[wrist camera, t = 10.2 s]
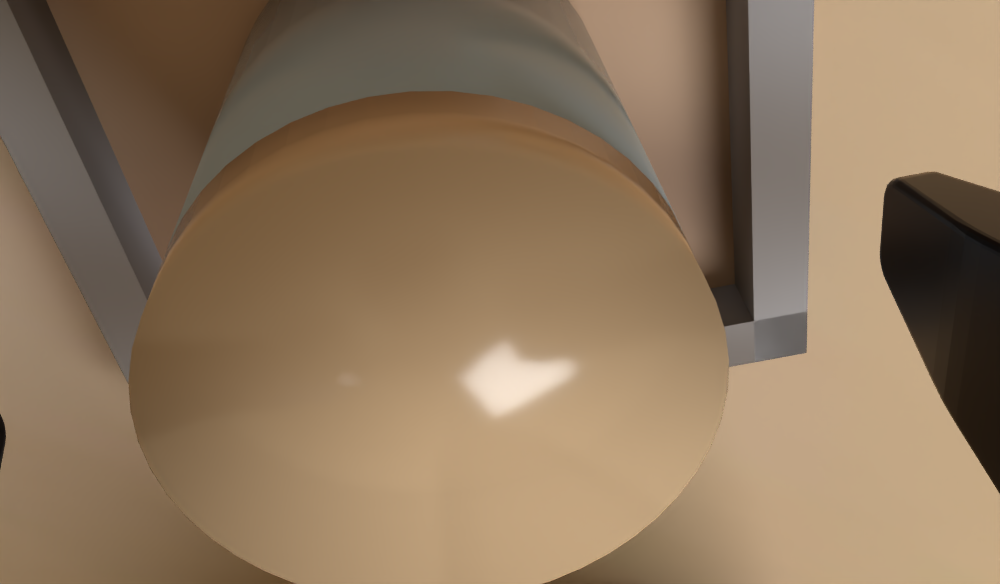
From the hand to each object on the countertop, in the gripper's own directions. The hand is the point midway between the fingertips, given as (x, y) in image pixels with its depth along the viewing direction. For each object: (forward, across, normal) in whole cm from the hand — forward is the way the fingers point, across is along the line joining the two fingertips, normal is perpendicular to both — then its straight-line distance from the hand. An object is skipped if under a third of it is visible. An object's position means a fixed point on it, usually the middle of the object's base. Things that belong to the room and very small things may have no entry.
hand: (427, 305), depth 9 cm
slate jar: (+4, 0, 0) cm, 5 cm away
